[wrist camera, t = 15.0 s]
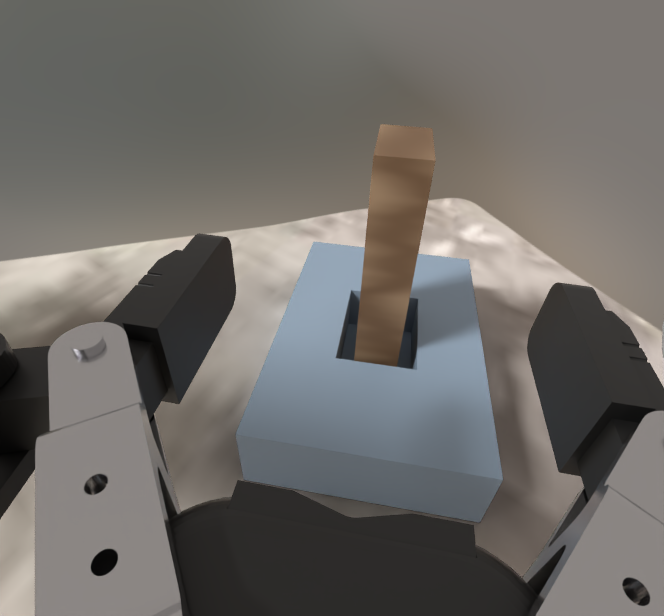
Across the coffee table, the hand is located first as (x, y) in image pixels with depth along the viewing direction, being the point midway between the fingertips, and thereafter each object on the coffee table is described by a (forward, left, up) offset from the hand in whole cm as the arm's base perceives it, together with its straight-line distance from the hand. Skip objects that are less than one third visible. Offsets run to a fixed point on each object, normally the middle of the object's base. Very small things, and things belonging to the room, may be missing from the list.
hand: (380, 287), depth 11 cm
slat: (-4, +10, -14) cm, 17 cm away
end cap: (-4, +10, -15) cm, 18 cm away
